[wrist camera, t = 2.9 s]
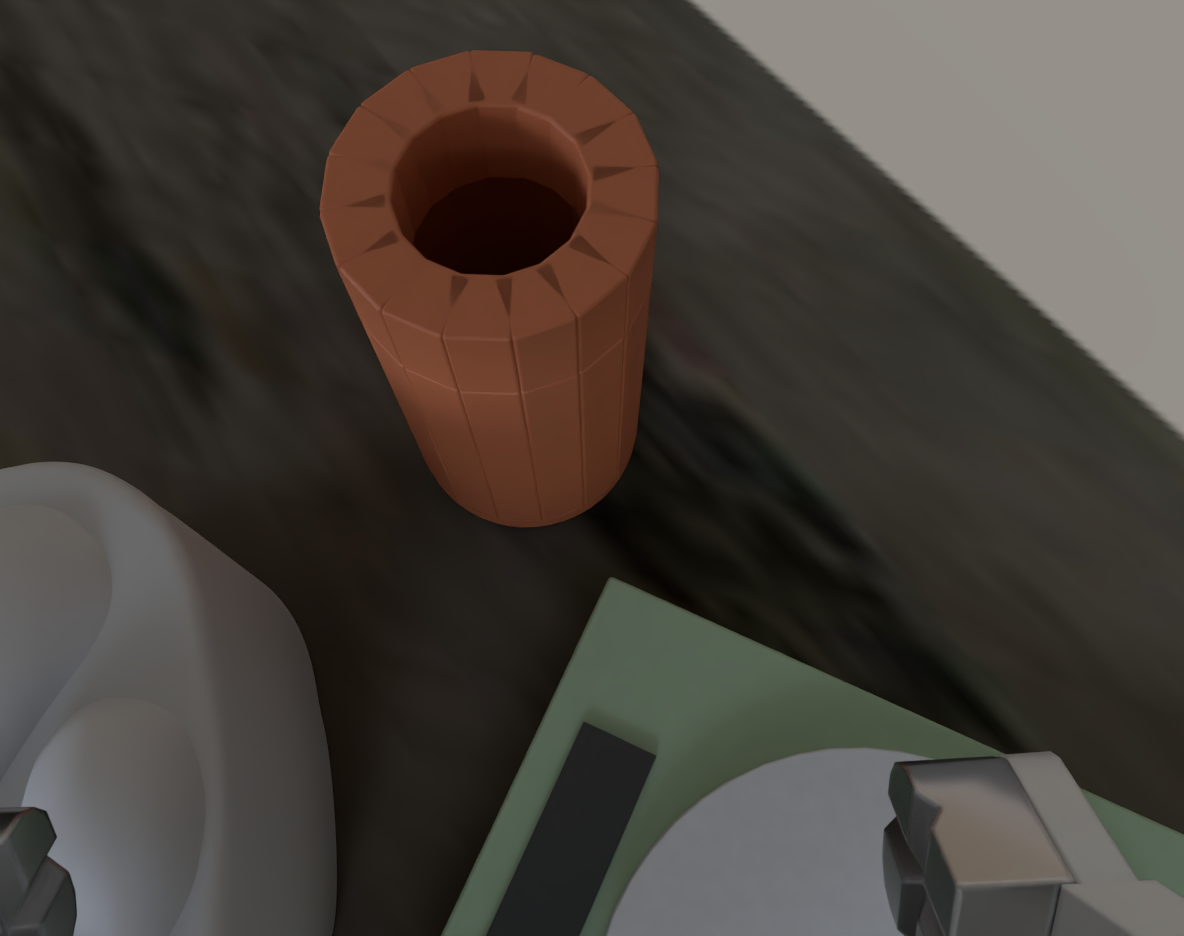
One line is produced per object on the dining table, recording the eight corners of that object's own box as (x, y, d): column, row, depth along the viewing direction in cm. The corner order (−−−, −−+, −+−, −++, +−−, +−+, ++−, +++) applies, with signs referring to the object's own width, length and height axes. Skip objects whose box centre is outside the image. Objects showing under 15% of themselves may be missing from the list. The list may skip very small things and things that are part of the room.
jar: (669, 377, 26) (710, 117, 17) (580, 563, 25) (569, 393, 15) (481, 298, 27) (419, 7, 17) (383, 474, 25) (257, 259, 16)
